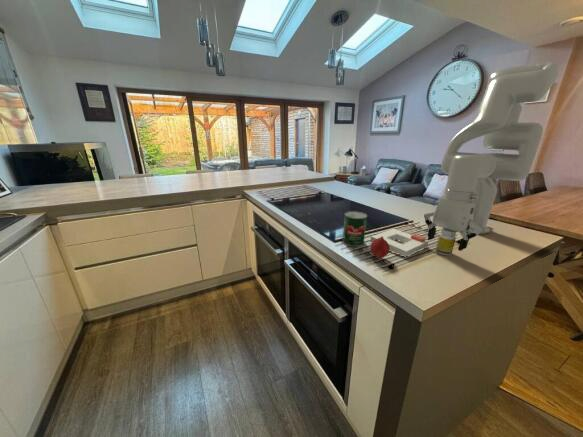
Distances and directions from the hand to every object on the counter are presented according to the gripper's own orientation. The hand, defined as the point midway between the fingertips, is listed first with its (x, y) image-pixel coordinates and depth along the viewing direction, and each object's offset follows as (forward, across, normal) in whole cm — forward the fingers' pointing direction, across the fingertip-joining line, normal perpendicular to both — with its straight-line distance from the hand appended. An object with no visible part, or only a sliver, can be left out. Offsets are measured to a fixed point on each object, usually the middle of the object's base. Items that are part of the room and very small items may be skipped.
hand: (445, 244), depth 80 cm
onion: (+4, +10, +22) cm, 24 cm away
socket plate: (+3, +12, +8) cm, 15 cm away
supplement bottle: (+4, 0, 0) cm, 4 cm away
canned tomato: (+4, +23, +20) cm, 31 cm away
